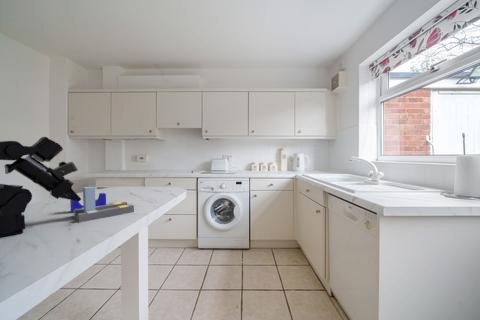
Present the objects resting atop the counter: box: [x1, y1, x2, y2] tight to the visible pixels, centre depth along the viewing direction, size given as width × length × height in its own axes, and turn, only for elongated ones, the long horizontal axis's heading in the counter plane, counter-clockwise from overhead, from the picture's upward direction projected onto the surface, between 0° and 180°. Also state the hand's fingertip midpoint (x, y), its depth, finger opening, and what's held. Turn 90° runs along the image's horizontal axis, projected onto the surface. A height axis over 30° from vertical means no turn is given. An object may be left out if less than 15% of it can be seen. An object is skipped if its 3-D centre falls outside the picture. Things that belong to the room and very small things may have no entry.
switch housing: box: [73, 201, 135, 223], centre depth 85 cm, size 18×10×3 cm, turn 136°
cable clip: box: [70, 192, 107, 214], centre depth 93 cm, size 12×4×6 cm, turn 144°
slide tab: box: [82, 186, 96, 212], centre depth 81 cm, size 3×4×10 cm
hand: (80, 200), depth 80 cm, fingers closed
